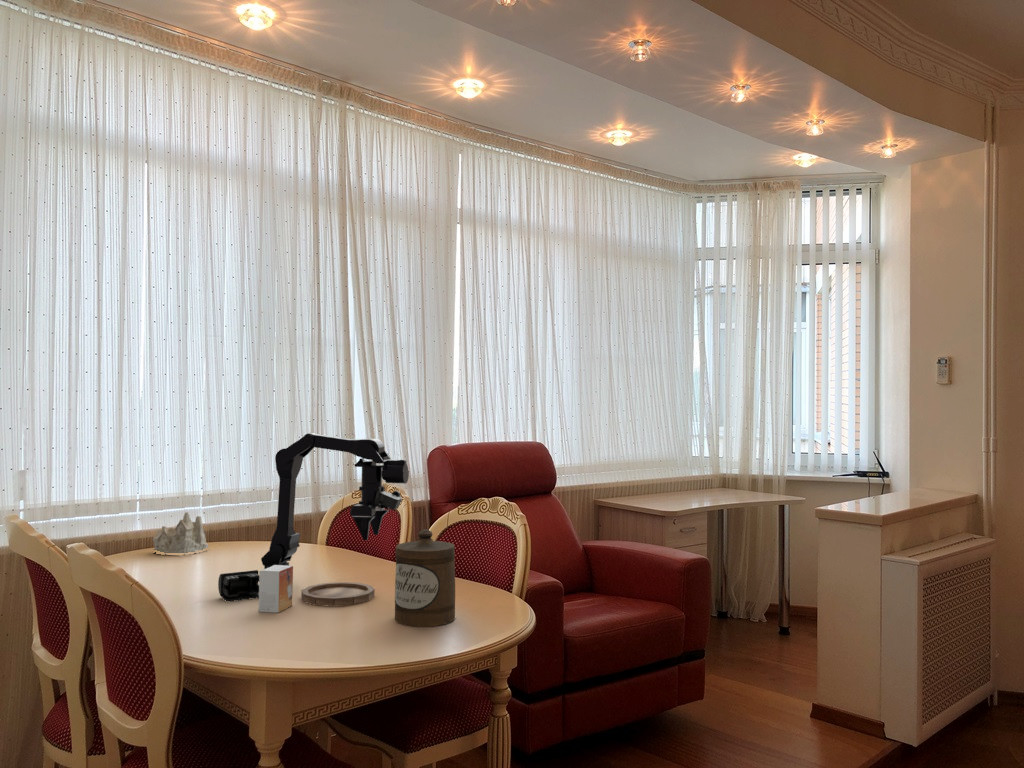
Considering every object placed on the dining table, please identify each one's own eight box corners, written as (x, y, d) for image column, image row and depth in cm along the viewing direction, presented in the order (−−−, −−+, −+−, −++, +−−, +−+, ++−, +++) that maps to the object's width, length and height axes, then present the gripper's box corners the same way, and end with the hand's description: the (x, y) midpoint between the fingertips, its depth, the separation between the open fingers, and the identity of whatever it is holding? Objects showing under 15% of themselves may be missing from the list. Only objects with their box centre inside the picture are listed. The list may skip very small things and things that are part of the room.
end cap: (254, 592, 227) (255, 568, 227) (262, 597, 221) (262, 572, 221) (217, 597, 221) (218, 572, 222) (224, 602, 215) (225, 576, 216)
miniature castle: (216, 549, 291) (213, 507, 291) (180, 558, 276) (177, 514, 276) (183, 548, 297) (181, 507, 298) (146, 557, 282) (144, 514, 283)
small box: (278, 613, 205) (279, 571, 205) (257, 612, 206) (258, 570, 206) (293, 605, 212) (293, 565, 213) (273, 604, 214) (274, 564, 214)
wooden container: (382, 621, 198) (383, 530, 199) (419, 608, 211) (420, 523, 212) (430, 630, 191) (431, 536, 191) (466, 617, 203) (467, 528, 204)
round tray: (290, 603, 214) (290, 596, 214) (318, 587, 233) (318, 580, 233) (359, 607, 211) (359, 599, 211) (382, 590, 230) (382, 583, 230)
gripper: (388, 486, 222) (388, 544, 222) (408, 480, 241) (407, 533, 240) (349, 485, 224) (349, 542, 224) (371, 479, 243) (371, 532, 242)
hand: (370, 537), depth 233 cm, fingers open, 9 cm apart
